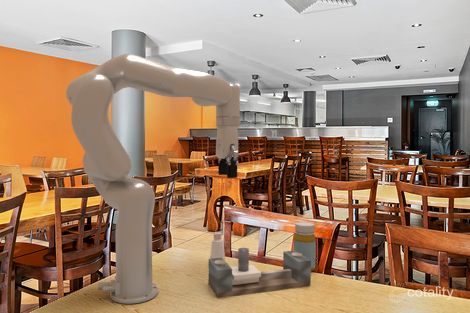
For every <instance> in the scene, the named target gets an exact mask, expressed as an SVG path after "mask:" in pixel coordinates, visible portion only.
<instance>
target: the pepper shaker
mask: <svg viewBox="0 0 470 313" xmlns="http://www.w3.org/2000/svg"><path fill="white" fill-rule="evenodd" d="M222 238H223V236H222V232H221V231H215V232H213V239H212V240H211V248H210V258H209V259H213V258H223V260H224V261H225V262H226V253H225V245H224V244H225V243H224V240H223V239H222Z"/></svg>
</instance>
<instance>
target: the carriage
mask: <svg viewBox="0 0 470 313" xmlns="http://www.w3.org/2000/svg"><path fill="white" fill-rule="evenodd" d="M237 250H238V251H237V252H238V256H237V257H238V258H237V260H238V261H237V265H235V266H230V267H231V268H232V285H238V284H246V283H254V282H259V277H261V272H262V271H260V270H259V269H257V267H256V266H254V265H253V264H249V262H250V261H249V260H250V257H249V256H250V252H249V251H250V248H247V247H239V248H238V249H237Z"/></svg>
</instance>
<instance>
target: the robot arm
mask: <svg viewBox="0 0 470 313" xmlns="http://www.w3.org/2000/svg"><path fill="white" fill-rule="evenodd" d="M126 88H131V89H135V90H138V91H144V92H148V93H151V94H155V95H158V96H162V97H166V98H167V97H168V98H191V100H192V101H193V103H195V104H196V105H197V106H199V107H212V106H215V128H217V131H216V140H215V143H216V144H215V156H216V157H217V159H218V163H217V164H218V167H217V168H218V170H217V172H218V176H226V178H228V179H236V178H238V163H239V162H238V159H239V158H238V157H239V131H238V129H240V123H241V122H240V118H241V116H240V115H241V114H240V107H241V103H240V102H241V101H240V99H241V98H240V96H241V95H240V91H241V90H240V86H239V85H238V84H235V83H230V82H229V81H227V80H226V79H225V78H222V77H220V76H217V75H214V74H210V73H207V72H203V71H198V70H191V69H186V68H182V67H181V68H180V67H175V66H171V65H167V64H165V63H162V62H158V61H155V60H152V59H149V58H145V57H143V56H140V55H137V54H133V53H124V54H120V55H118V56H116V57H112V58H110V59H108V60H107V61H105V62H103V63H102V64H100V65H98V66H96V67H95V68H93V69H91V70H89V71H87V72H85V73H84V74H82V75H80V76H78V77H77V78H75V79H73V80H72V81H71V82H69V84H68V86H67V88H66V90H65V95H66V99H67V102H68V103H69V105H71V118H70V119H71V126H72V130H73V133H74V134H75V136H76V137H75V138H77V140H78V142H79V144H80V145H81V147H82V149H83V151H84V154H83V156H82V167H83V170H84V173H85V174H86V175H87V177H88V179H89V180H90V181H91V183H92V184H93V186H94V188H95V189H96V191H97V192H98V193H99V195H100V197H101V198H102V199H103V201H104V202H105V203H106V205H108V206H109V207H111V208H112V209H115V210H117V211H118V214H117V218H116V223H115V275H114V279H110V281H99V282H98V285H97V286H98V287H97V288H98V290H102V292H103V293H105V292H110V294H109V298H110V299H111V300H112V301H114V302H116V303H118V304H124V305H125V304H127V305H130V304H132V305H133V304H139V303H145V302H147V301H149V300H152V299H154V298H155V297H156V296H157V295H158V293H159V287H158V286H157V285H156V284H154V283H153V217H154V210H155V205H156V195H155V191H154V189H153V187H152V186H151V185H150V184H149V183H148V182H147V181H145V180H143V179H140V178H136V177H130V176H129V175H130V173H131V169H132V160H131V158H130V155H129V154H128V152H127V151H126V149H125V148H124V146H123V144H122V143H121V141H120V139H119V138H118V136H117V134H116V132H115V131H114V129H113V127H112V125H111V124H110V121H109V109H110V108H109V107H110V105H111V103H112V100H113V98H114V95H115V94H117V93H118V92H119V91H121V90H122V89H126Z"/></svg>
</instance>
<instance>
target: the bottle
mask: <svg viewBox="0 0 470 313" xmlns="http://www.w3.org/2000/svg"><path fill="white" fill-rule="evenodd" d="M294 225H295V226H294V227H295V228H294V232H295V234H294V236H293V250H292V251H297V252H298V253H301V254H302V255H303V256H305V257H306V258H308V259H309V260H311V273H312V272H313V271H314V270H315V269H316V241H317V240H316V236H315V229H316V228H315V223H313V222H312V221H311V222H310V221H298V222H295V224H294Z"/></svg>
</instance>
